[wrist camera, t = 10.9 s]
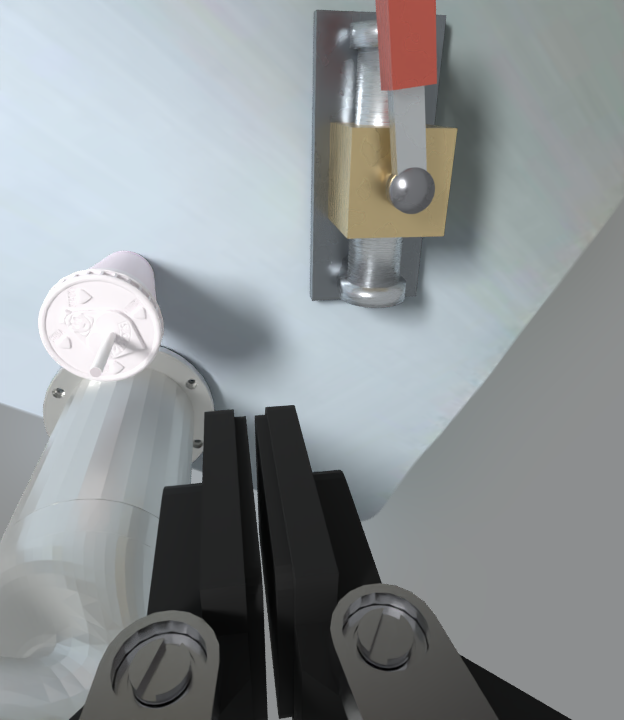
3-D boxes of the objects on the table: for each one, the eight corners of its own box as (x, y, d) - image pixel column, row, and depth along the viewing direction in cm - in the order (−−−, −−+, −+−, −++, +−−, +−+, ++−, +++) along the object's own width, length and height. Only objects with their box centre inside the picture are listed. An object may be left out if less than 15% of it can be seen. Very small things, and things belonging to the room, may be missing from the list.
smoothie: (153, 332, 39) (126, 442, 27) (64, 297, 37) (-10, 399, 24) (188, 256, 37) (176, 337, 25) (96, 213, 35) (32, 279, 22)
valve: (411, 291, 41) (451, 331, 34) (310, 296, 40) (330, 338, 33) (439, 17, 33) (499, -3, 26) (313, 12, 32) (341, -11, 25)
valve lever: (427, 206, 30) (441, 212, 28) (386, 213, 30) (397, 220, 28) (420, -35, 25) (437, -45, 23) (371, -29, 25) (383, -39, 23)
